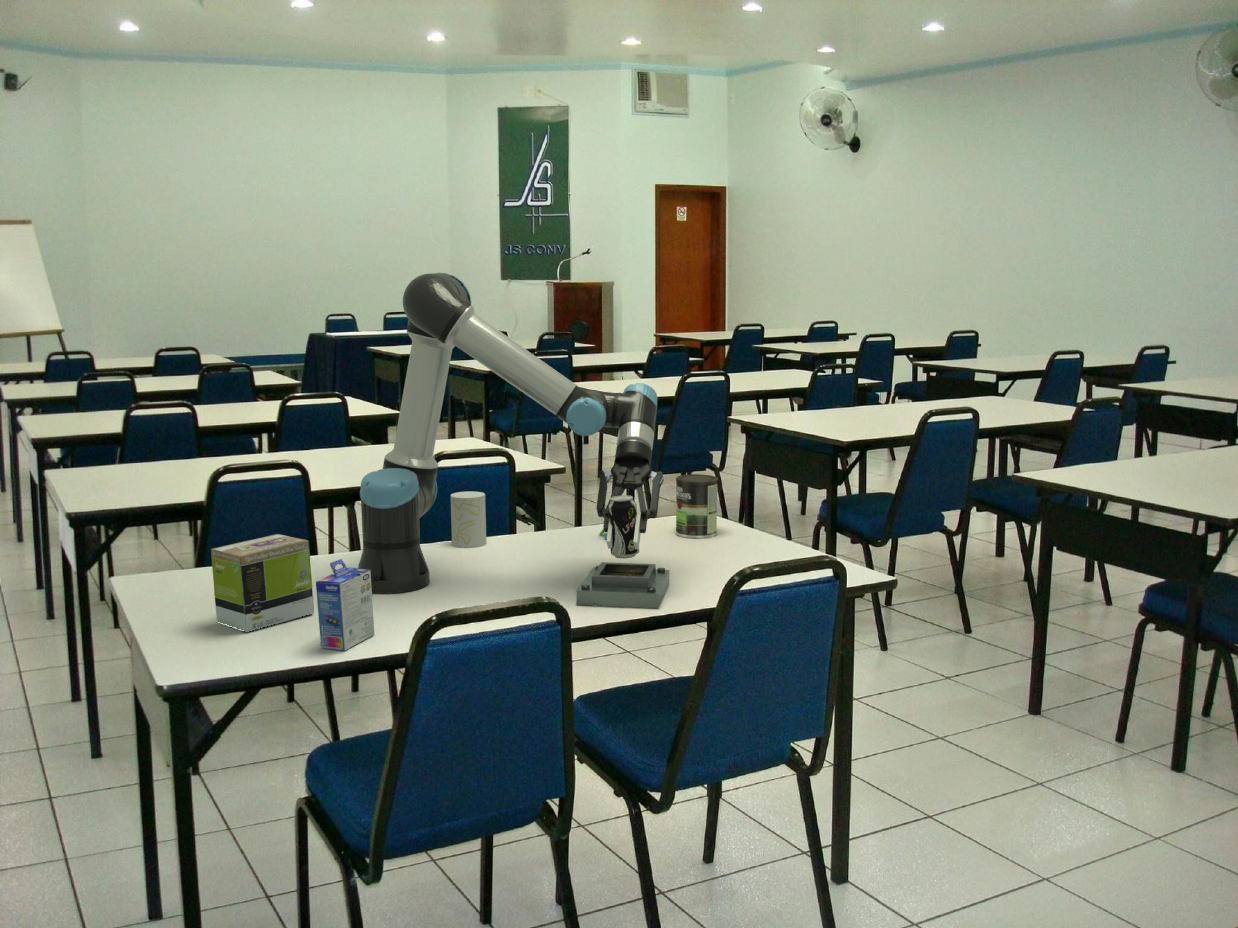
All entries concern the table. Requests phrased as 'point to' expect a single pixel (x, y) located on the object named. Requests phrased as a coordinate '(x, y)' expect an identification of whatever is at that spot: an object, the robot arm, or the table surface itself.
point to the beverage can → (623, 526)
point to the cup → (468, 519)
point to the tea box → (262, 581)
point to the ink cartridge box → (345, 607)
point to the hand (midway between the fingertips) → (622, 545)
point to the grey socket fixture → (624, 586)
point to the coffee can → (696, 506)
